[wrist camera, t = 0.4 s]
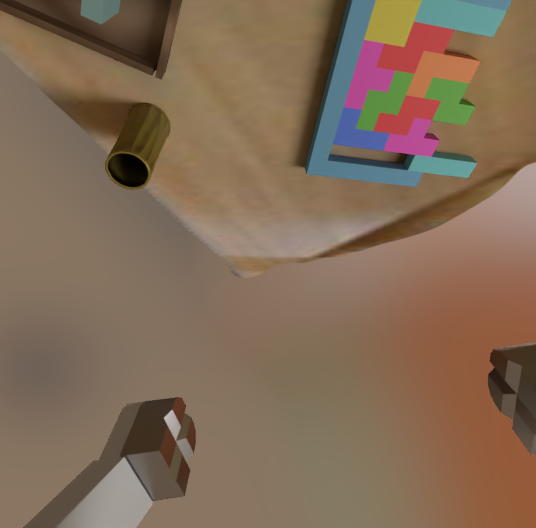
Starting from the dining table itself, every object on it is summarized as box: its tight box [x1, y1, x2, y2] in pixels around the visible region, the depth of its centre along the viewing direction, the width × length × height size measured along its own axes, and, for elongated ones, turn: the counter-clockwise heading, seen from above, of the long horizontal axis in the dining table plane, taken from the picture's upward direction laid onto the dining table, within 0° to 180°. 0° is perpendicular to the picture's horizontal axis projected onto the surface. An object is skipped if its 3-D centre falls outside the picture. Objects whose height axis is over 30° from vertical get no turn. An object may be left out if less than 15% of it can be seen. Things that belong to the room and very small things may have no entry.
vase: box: [105, 104, 170, 190], centre depth 47 cm, size 6×6×14 cm
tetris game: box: [305, 0, 512, 187], centre depth 51 cm, size 28×3×28 cm
